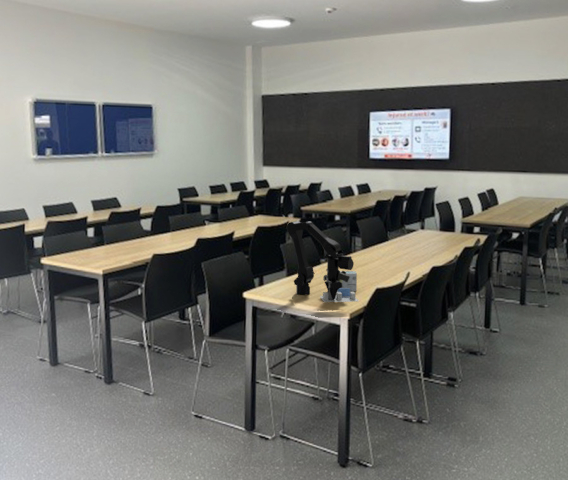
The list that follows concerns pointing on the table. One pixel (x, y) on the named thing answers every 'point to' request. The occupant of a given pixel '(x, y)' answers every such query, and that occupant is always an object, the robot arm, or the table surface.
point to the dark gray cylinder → (330, 295)
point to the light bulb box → (350, 281)
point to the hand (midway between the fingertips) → (332, 297)
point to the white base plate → (340, 296)
